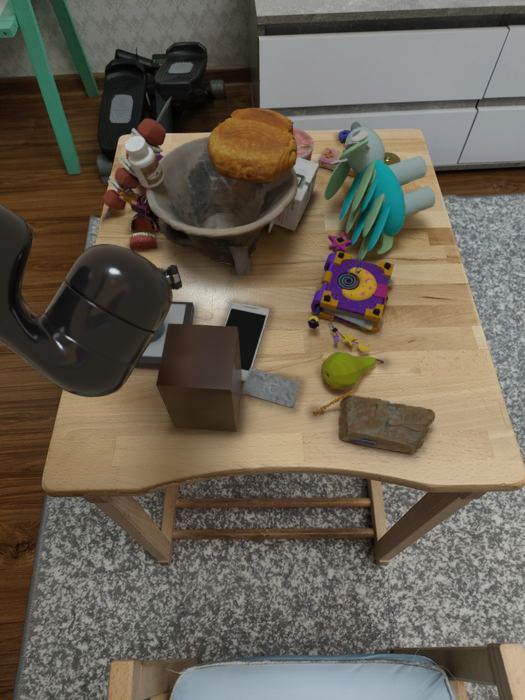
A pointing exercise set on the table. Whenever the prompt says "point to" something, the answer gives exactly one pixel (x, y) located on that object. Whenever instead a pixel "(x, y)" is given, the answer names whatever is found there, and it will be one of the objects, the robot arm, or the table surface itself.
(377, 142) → the teal bird figurine
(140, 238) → the dentures model
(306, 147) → the container
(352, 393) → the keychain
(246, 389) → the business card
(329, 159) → the toy
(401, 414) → the stone
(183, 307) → the scale
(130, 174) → the skewer
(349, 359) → the fruit
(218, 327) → the stand
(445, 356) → the table surface
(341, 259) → the book
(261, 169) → the bread loaf
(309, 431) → the table surface
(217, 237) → the bowl
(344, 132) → the blue irregular piece
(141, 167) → the pill bottle
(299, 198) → the ink box
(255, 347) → the smartphone
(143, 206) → the toy car
